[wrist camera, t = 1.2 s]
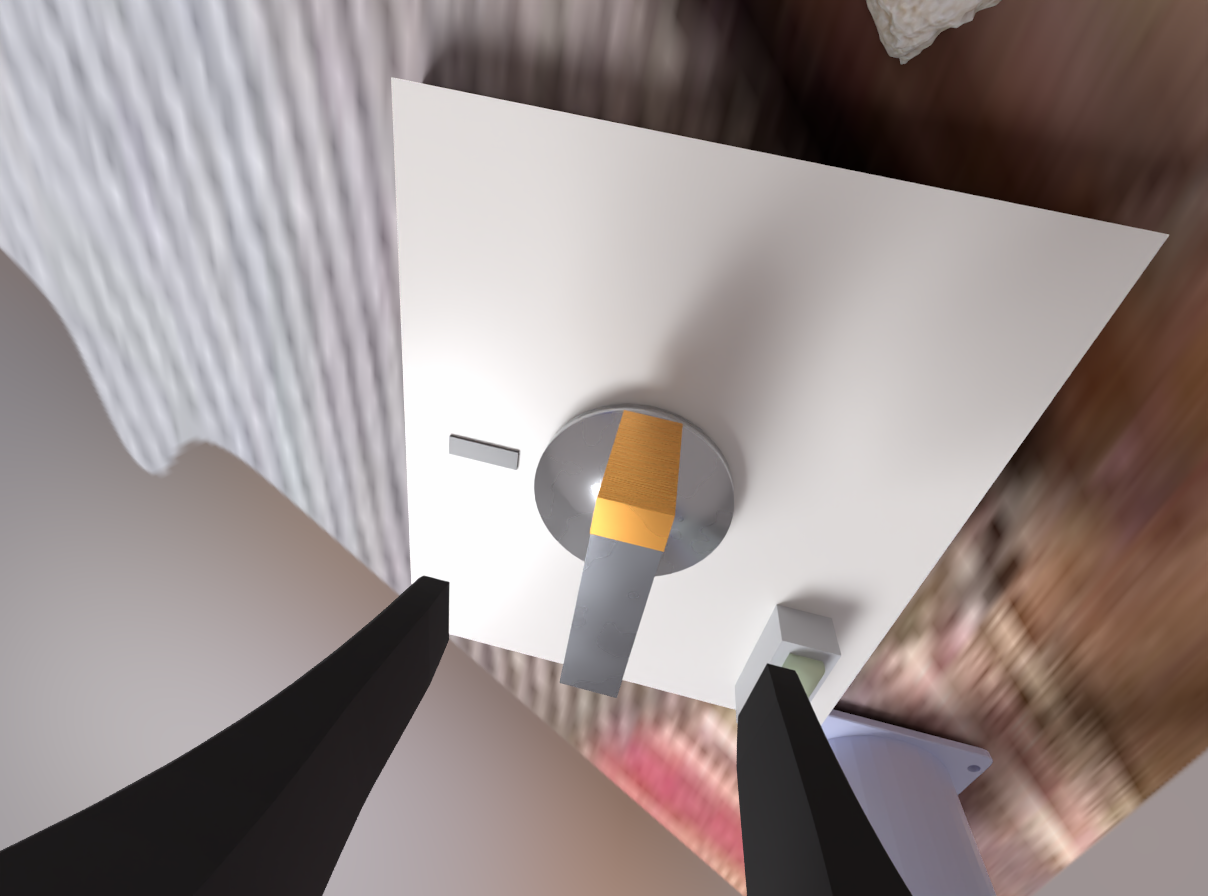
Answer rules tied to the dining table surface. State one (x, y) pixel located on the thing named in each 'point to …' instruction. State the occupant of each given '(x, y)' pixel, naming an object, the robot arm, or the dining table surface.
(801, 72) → the dining table surface
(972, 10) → the washcloth
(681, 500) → the rotary knob
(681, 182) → the base plate
